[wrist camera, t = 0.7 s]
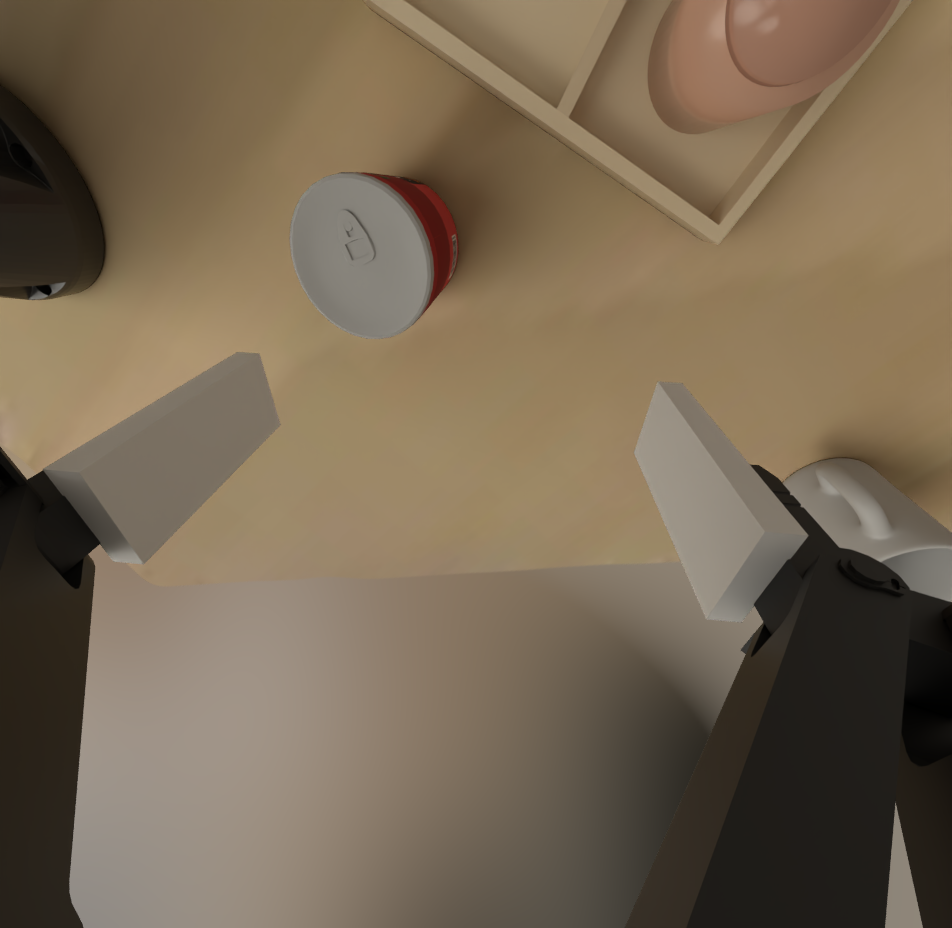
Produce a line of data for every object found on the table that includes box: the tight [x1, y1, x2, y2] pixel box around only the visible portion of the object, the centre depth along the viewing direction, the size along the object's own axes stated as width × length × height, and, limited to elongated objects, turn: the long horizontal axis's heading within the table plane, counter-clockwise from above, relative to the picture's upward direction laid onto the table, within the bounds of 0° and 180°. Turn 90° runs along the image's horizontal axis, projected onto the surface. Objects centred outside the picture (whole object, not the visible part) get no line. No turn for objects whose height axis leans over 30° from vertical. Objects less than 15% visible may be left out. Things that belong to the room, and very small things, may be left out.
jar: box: [648, 0, 900, 134], centre depth 18 cm, size 7×7×10 cm
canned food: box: [290, 172, 458, 339], centre depth 25 cm, size 8×8×11 cm
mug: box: [783, 458, 952, 602], centre depth 33 cm, size 12×8×11 cm
